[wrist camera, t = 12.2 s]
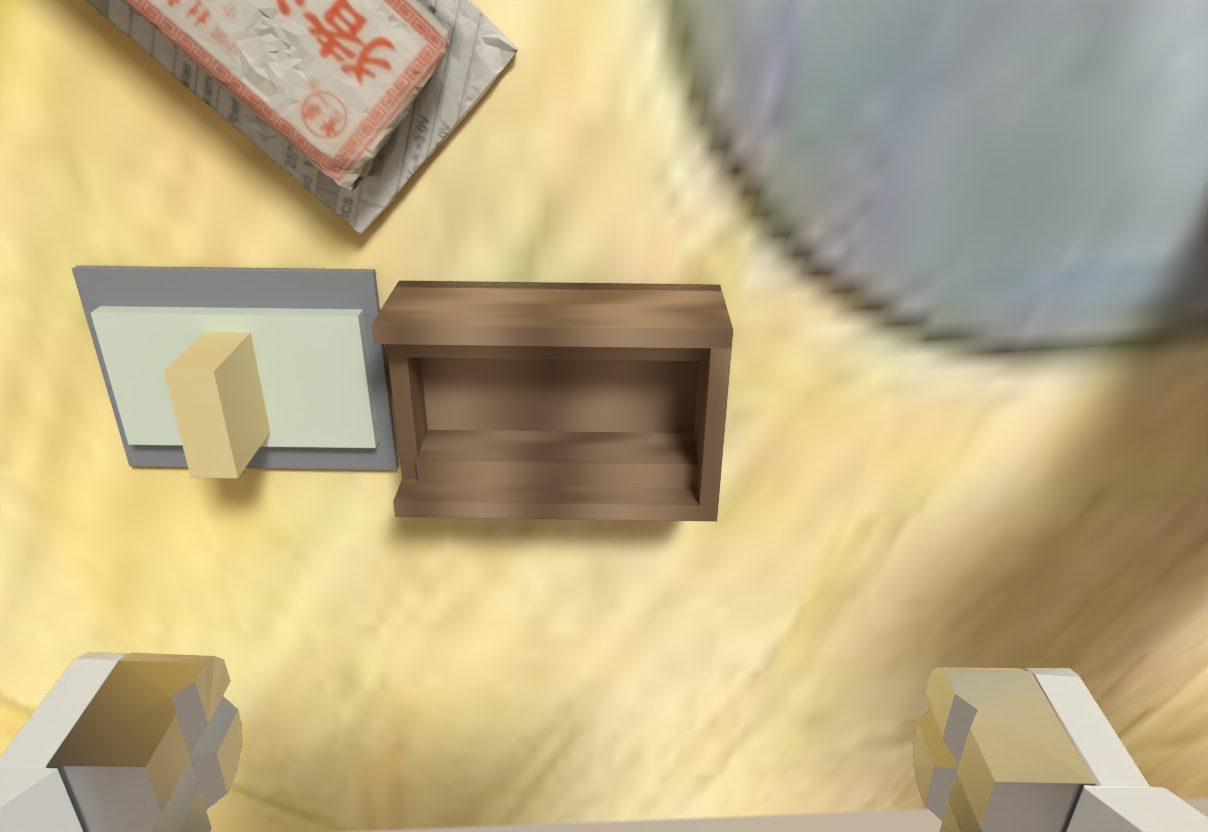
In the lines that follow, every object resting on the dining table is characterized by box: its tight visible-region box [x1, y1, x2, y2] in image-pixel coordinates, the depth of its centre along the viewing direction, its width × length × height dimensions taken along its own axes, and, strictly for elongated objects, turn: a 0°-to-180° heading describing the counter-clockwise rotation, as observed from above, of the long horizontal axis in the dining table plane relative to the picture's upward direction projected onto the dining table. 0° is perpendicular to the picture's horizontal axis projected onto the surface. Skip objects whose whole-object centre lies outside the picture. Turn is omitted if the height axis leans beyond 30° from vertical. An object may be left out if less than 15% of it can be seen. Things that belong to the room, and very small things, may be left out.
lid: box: [91, 306, 380, 478], centre depth 38 cm, size 12×7×5 cm, turn 90°
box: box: [371, 281, 733, 521], centre depth 38 cm, size 14×9×5 cm, turn 90°
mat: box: [72, 266, 399, 470], centre depth 41 cm, size 13×10×1 cm
